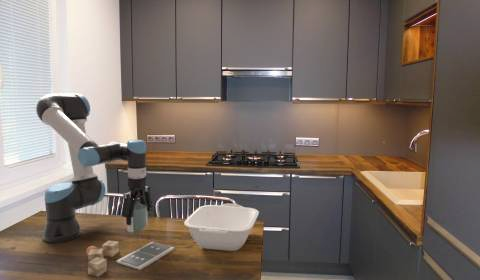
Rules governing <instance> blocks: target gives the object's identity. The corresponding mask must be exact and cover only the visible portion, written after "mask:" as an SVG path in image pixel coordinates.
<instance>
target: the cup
mask: <svg viewBox="0 0 480 280" xmlns="http://www.w3.org/2000/svg"><path fill="white" fill-rule="evenodd" d="M132 217H133V231H142V230H143V229H145V227H147V226H146V221H147V206H146V205H143V204H141V203H135V206H134V210H133V214H132Z"/></svg>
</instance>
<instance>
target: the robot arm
mask: <svg viewBox="0 0 480 280" xmlns="http://www.w3.org/2000/svg"><path fill="white" fill-rule="evenodd" d="M35 110H36V115H37V117H38V119H39V120H40V121H41V122H42V124H44V125H46V126H50V127H51V128H52V129H53V130H54V131H55V132H56V133H57V134H58V135H59V136H60V137H61V138H62V139H63V140H64V141H66V143H67V145H68V150H69V151H68V152H69V156H70V161H71V166H72V171H73V178H72V179H71V182H67V181H66V182H62V183H55V184H53V185H50V186H48V187H47V189H46V190H45V192H44V206H45V216H46V217H45V218H46V223H45V227H44V231H43V234H42V238H43V239H42V240H43V241H45V242H46V243H53V244H54V243H64V242H69V241H72V240H74V239H77V238H78V237H80V236H81V232H82V231H81V227H80V224H79V222H78V220H77V217H76V211H77V210H80V209H83V208H86V207H89V206H94V205H96V204H99V203H101V202H102V201H103V199H104V198H105V195H106V185H105V182H103V180H102V179H100V178H99V176H98V175H97V174H96V173H94V169H93V167H94V166H99V165H102V164H108V163H113V162H117V161H123V162H127V186H128V187H129V190H128V191H127V192H126V193H125V192H124V193H122V198H123V202H122V212H121V213H122V214H121V217H123V218H125V219H126V220H125V221H126V225H127V230H126V231H127V232H129V233H134V230H133V217H132V214H133V210H134V206H135V204H137V203H136V202H138V199H139V202H140V204H143V205H146V206H147V221H146V226H145V227H147V226H148V223H149V222H148V220H149V219H148V218H149V212H150V211H151V208H152V206H153V205H152V199H151V198H152V197H151V187H150V186H148V185H147V177H146V176H147V144H146V141H145V140H142V139H130V140H128V141H127V143H126V142H122V141H121V142H120V141H111V142H109V143H108V144H101V145H98V143H96V142H95V141H94V140H93V139H92V138H91V137H90V136H88V135H87V132H86V126H85V124H86V122H87V121H88V119H87V117H89V115H90V114H91V106H90V102H89V100H88V98H87V97H85V96H84V95H83V94H80V93H49V94H46V95H44V96H42V97H41V98H40V99H39V101H38V102H37V104H36V108H35Z"/></svg>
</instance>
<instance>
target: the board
mask: <svg viewBox="0 0 480 280" xmlns="http://www.w3.org/2000/svg"><path fill="white" fill-rule="evenodd" d="M174 250H175V247H174V246H170V245H168V244H167V245H166V244H163V243H159V242H156V241H151V242H149V243H146V244H145V245H143V246H141V247H139V248H137V249H135V250H134V251H131V252H130V253H128V254H126V255H124V256H123V257H121V258H119V259H117V260H116V263H117V264H119V265H123V266H125V267H128V268H132V269H135V270H138V271H141V270H143V269H144V268H146V267H148V266H149V265H151V264H153V263H154V262H156V261H158V260H159V259H161V258H163V257H164V256H165V255H167V254H169V253H170V252H172V251H174Z"/></svg>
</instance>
